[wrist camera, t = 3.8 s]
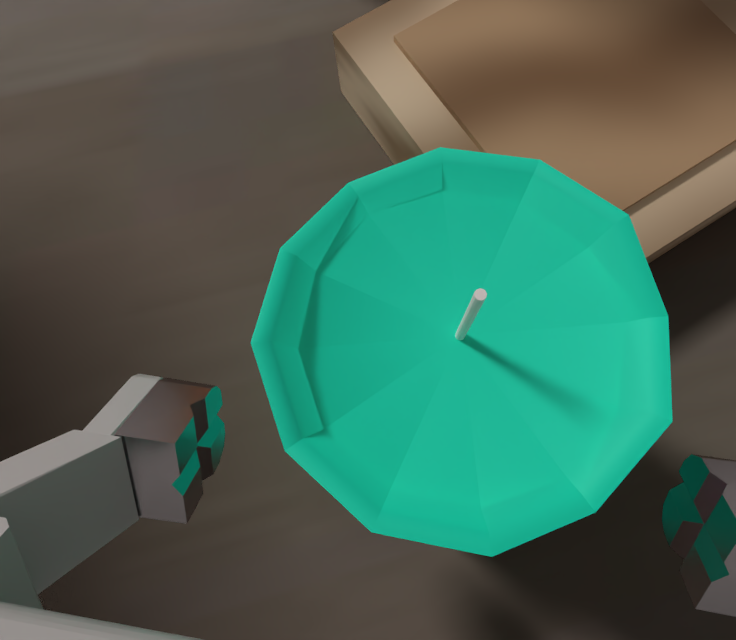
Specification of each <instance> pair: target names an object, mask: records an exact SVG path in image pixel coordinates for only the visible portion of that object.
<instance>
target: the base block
mask: <svg viewBox="0 0 736 640" xmlns="http://www.w3.org/2000/svg"><path fill="white" fill-rule="evenodd" d="M333 39H334V45H335V52H336V59H337V66H338V73H339V80H340V87H341V92H342V94H343V95H344V96H345V98H346V99H347V100H348V102H349V103H350V105H351V106H352V107H353V109H354V110H355V111H356V113H357V114H358V116H359V117H360V118H361V120H362V121H363V122H364V124H365V125H366V127H367V128H368V129H369V131H370V132H371V133H372V135H373V136H374V138H375V139H376V140H377V142H378V143H379V144H380V146H381V147H382V149H383V150H384V151H385V153H386V154H387V155H388V157H389V158H390V160H391V161H392V162H393V164H394V165H395V164H398V163H401V162H403V161H406V160H408V159H411V158H413V157H416V156H419V155H421V154H424V153H426V152H429V151H432V150H434V149H437V148H439V147H443V148H451V149H459V150H467V151H475V152H483V153H491V154H499V155H507V156H515V157H523V158H532V159H540V160H542V161H543V162H545V163H546V164H548V165H550V166H551V167H553V168H554V169H556V170H558V171H559V172H561V173H563V174H564V175H566V176H567V177H569V178H571V179H572V180H574V181H575V182H577V183H579V184H580V185H582V186H583V187H585V188H587V189H588V190H590V191H592V192H593V193H595V194H596V195H598V196H600V197H601V198H603V199H604V200H606V201H608V202H609V203H611V204H613V205H614V206H616V207H617V208H619V209H621V210H622V211H624V212H625V213H627V214H629V216H630V219H631V221H632V224H633V227H634V229H635V232H636V234H637V237H638V239H639V242H640V245H641V247H642V250H643V252H644V255H645V257H646V260H647V263H648V264H649V263H650V262H652V261H653V260H655V259H656V258H658V257H660V256H661V255H663V254H664V253H666V252H667V251H669V250H671V249H672V248H674V247H675V246H677V245H678V244H680V243H682V242H683V241H685V240H686V239H688V238H689V237H691V236H692V235H694V234H696V233H697V232H699V231H700V230H702V229H703V228H705V227H707V226H708V225H710V224H711V223H713V222H714V221H716V220H718V219H719V218H721V217H722V216H724V215H725V214H727V213H728V212H730V211H732V210H733V209H735V208H736V0H390V1H389V2H387V3H385V4H383V5H381V6H379V7H378V8H376V9H374V10H372V11H370V12H368V13H367V14H365V15H363V16H361V17H359V18H357V19H356V20H354V21H352V22H350V23H348V24H346V25H345V26H343V27H341V28H339V29H337V30H335V31H334V32H333Z"/></svg>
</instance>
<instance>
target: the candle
mask: <svg viewBox="0 0 736 640" xmlns="http://www.w3.org/2000/svg"><path fill="white" fill-rule="evenodd" d="M251 345H252V349H253V352H254V355H255V358H256V361H257V365H258V368H259V371H260V374H261V377H262V380H263V384H264V387H265V390H266V393H267V396H268V399H269V403H270V406H271V409H272V412H273V415H274V418H275V422H276V425H277V428H278V431H279V434H280V438H281V441H282V444H283V447H284V450H285V452H286V453H288V454H289V455H290V456H291V457H292V458H293V459H294V460H295V461H296V462H297V463H298V464H299V465H300V466H301V467H302V468H303V469H305V470H306V471H307V472H308V473H309V474H310V475H311V476H312V477H313V478H314V479H315V480H316V481H317V482H318V483H319V484H321V485H322V486H323V487H324V488H325V489H326V490H327V491H328V492H329V493H330V494H331V495H332V496H333V497H334V498H335V499H336V500H338V501H339V502H340V503H341V504H342V505H343V506H344V507H345V508H346V509H347V510H348V511H349V512H350V513H351V514H352V515H354V516H355V517H356V518H357V519H358V520H359V521H360V522H361V523H362V524H363V525H364V526H365V527H366V528H367V529H368V530H369V531H371V532H373V533H377V534H382V535H387V536H392V537H397V538H402V539H407V540H412V541H417V542H421V543H426V544H431V545H436V546H441V547H446V548H451V549H456V550H460V551H465V552H470V553H475V554H480V555H485V556H490V557H493V556H495V555H498V554H500V553H502V552H505V551H507V550H509V549H512V548H514V547H516V546H519V545H521V544H523V543H526V542H528V541H530V540H533V539H535V538H537V537H540V536H542V535H544V534H547V533H549V532H551V531H554V530H556V529H558V528H561V527H563V526H565V525H568V524H570V523H572V522H575V521H577V520H579V519H582V518H584V517H586V516H589V515H591V514H593V513H596V511H597V510H598V509H599V508H600V507H601V506H602V504H603V503H604V502H605V501H606V500H607V498H608V497H609V496H610V495H611V494H612V493H613V491H614V490H615V489H616V488H617V487H618V485H619V484H620V483H621V482H622V481H623V480H624V478H625V477H626V476H627V475H628V474H629V472H630V471H631V470H632V469H633V468H634V466H635V465H636V464H637V463H638V462H639V461H640V459H641V458H642V457H643V456H644V455H645V453H646V452H647V451H648V450H649V449H650V448H651V446H652V445H653V444H654V443H655V442H656V440H657V439H658V438H659V437H660V436H661V435H662V433H663V432H664V431H665V430H666V429H667V427H668V426H669V425H670V424H671V423H672V396H671V370H670V344H669V319H668V314H667V311H666V309H665V306H664V304H663V301H662V298H661V296H660V293H659V291H658V288H657V286H656V283H655V280H654V278H653V275H652V273H651V270H650V268H649V265H648V263H647V260H646V257H645V255H644V252H643V250H642V247H641V245H640V242H639V239H638V237H637V234H636V232H635V229H634V227H633V224H632V221H631V219H630V216H629V214H627V213H625V212H624V211H622V210H621V209H619V208H617V207H616V206H614V205H613V204H611V203H609V202H608V201H606V200H604V199H603V198H601V197H600V196H598V195H596V194H595V193H593V192H592V191H590V190H588V189H587V188H585V187H583V186H582V185H580V184H579V183H577V182H575V181H574V180H572V179H571V178H569V177H567V176H566V175H564V174H563V173H561V172H559V171H558V170H556V169H554V168H553V167H551V166H550V165H548V164H546V163H545V162H543V161H542V160H540V159H532V158H523V157H515V156H507V155H499V154H491V153H483V152H475V151H467V150H459V149H451V148H443V147H439V148H437V149H434V150H432V151H429V152H426V153H424V154H421V155H419V156H416V157H413V158H411V159H408V160H406V161H403V162H401V163H398V164H395V165H393V166H390V167H388V168H385V169H382V170H380V171H377V172H375V173H372V174H369V175H367V176H364V177H362V178H359V179H356V180H354V181H351V182H349V183H347V184H346V185H345V186H344V187H343V188H342V189H341V190H340V191H339V192H338V193H337V194H336V195H335V196H334V197H333V198H332V199H331V200H330V201H329V202H328V203H327V204H326V205H325V206H324V207H322V208H321V209H320V210H319V211H318V212H317V213H316V214H315V215H314V216H313V217H312V218H311V219H310V220H309V221H308V222H307V223H306V224H305V225H304V226H303V227H302V228H301V229H300V230H299V231H298V232H296V233H295V234H294V235H293V236H292V237H291V238H290V239H289V240H288V241H287V242H286V243H285V244H284V245H283V246H282V247H281V248H280V250H279V253H278V256H277V260H276V263H275V266H274V269H273V272H272V276H271V279H270V282H269V285H268V288H267V292H266V295H265V298H264V301H263V305H262V308H261V311H260V314H259V317H258V321H257V324H256V327H255V330H254V333H253V337H252V340H251Z"/></svg>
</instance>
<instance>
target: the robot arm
mask: <svg viewBox="0 0 736 640" xmlns="http://www.w3.org/2000/svg"><path fill="white" fill-rule="evenodd" d="M221 406H222V397H221V390H220V389H219V388H218V387H217V386H213V385H207V384H201V383H195V382H189V381H183V380H177V379H171V378H162V377H157V376H151V375H144V374H137V375H134V376H132V377H131V378H130V379H129V380H128V381H127V382H126V383H125V384H124V385H123V386H122V388H121V389H120V390H119V391H118V392H117V393H116V394H115V395H114V396H113V397H112V399H111V400H110V401H109V402H108V403H107V404H106V405H105V406H104V407H103V408H102V410H101V411H100V412H99V413H98V414H97V415H96V416H95V417H94V418H93V419H92V421H91V422H90V423H89V424H88V425H87V426H86V427H85V428H84V429H83V430H82V431H80V430H72V431H69V432H67V433H65V434H63V435H60V436H58V437H56V438H53V439H51V440H49V441H47V442H44V443H42V444H40V445H37V446H35V447H33V448H31V449H28V450H26V451H24V452H21V453H19V454H17V455H14V456H12V457H10V458H8V459H5V460H3V461H1V462H0V640H204V639H198V638H193V637H188V636H182V635H177V634H172V633H166V632H161V631H155V630H150V629H145V628H139V627H134V626H129V625H123V624H118V623H113V622H107V621H102V620H97V619H91V618H86V617H81V616H75V615H70V614H65V613H59V612H54V611H49V610H44V609H43V607H42V604H41V602H40V599H39V597H38V594H39V593H40V592H42V591H43V590H45V589H46V588H47V587H49V586H50V585H51V584H53V583H54V582H55V581H57V580H58V579H59V578H61V577H62V576H64V575H65V574H66V573H68V572H69V571H70V570H72V569H73V568H74V567H76V566H77V565H78V564H80V563H81V562H82V561H84V560H85V559H87V558H88V557H89V556H91V555H92V554H93V553H95V552H96V551H97V550H99V549H100V548H101V547H103V546H104V545H106V544H107V543H108V542H110V541H111V540H112V539H114V538H115V537H116V536H118V535H119V534H120V533H122V532H123V531H125V530H126V529H127V528H129V527H130V526H131V525H133V524H134V523H135V522H137V521H138V520H139V517H142V518H150V519H157V520H164V521H172V522H179V523H186V524H187V523H188V521H189V519H190V517H191V515H192V513H193V512H194V510H195V508H196V506H197V504H198V502H199V500H200V499H201V497H202V495H203V487H202V481H203V480H205V479H206V478H208V477H210V476H211V475H213V474H214V472H215V470H216V468H217V466H218V464H219V462H220V459H221V455H222V452H223V448H224V440H225V427H224V423H223V422H222V420H221V419H220V418H219V417H218V416H217V413H218V411H219V410H220V408H221ZM679 473H680V475H681V477H682V479H683V483H681V484H679V485H677V486H676V487H674V488H672V489H671V490H669V492H668V495H667V497H666V499H665V502H664V504H663V514H662V523H663V529H664V534H665V536H666V539H667V541H668V544H669V547H671V548H672V549H673V550H674V551H675V552H676V553H677V554H678V555H679V556H680V557H681V558H682V559H684V561H683V563H682V566H681V568H680V570H679V571H680V574H681V576H682V578H683V581H684V583H685V586H686V588H687V590H688V593H689V595H690V598H691V600H692V603H693V605H694V607H695V609H698V610H704V611H709V612H714V613H719V614H724V615H729V616H734V617H736V460H730V459H722V458H715V457H708V456H701V455H693V454H691V455H690V456H689V457H688V458H687V459H685V460H684V462H683V464H682V466H681V468H680V470H679Z"/></svg>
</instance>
